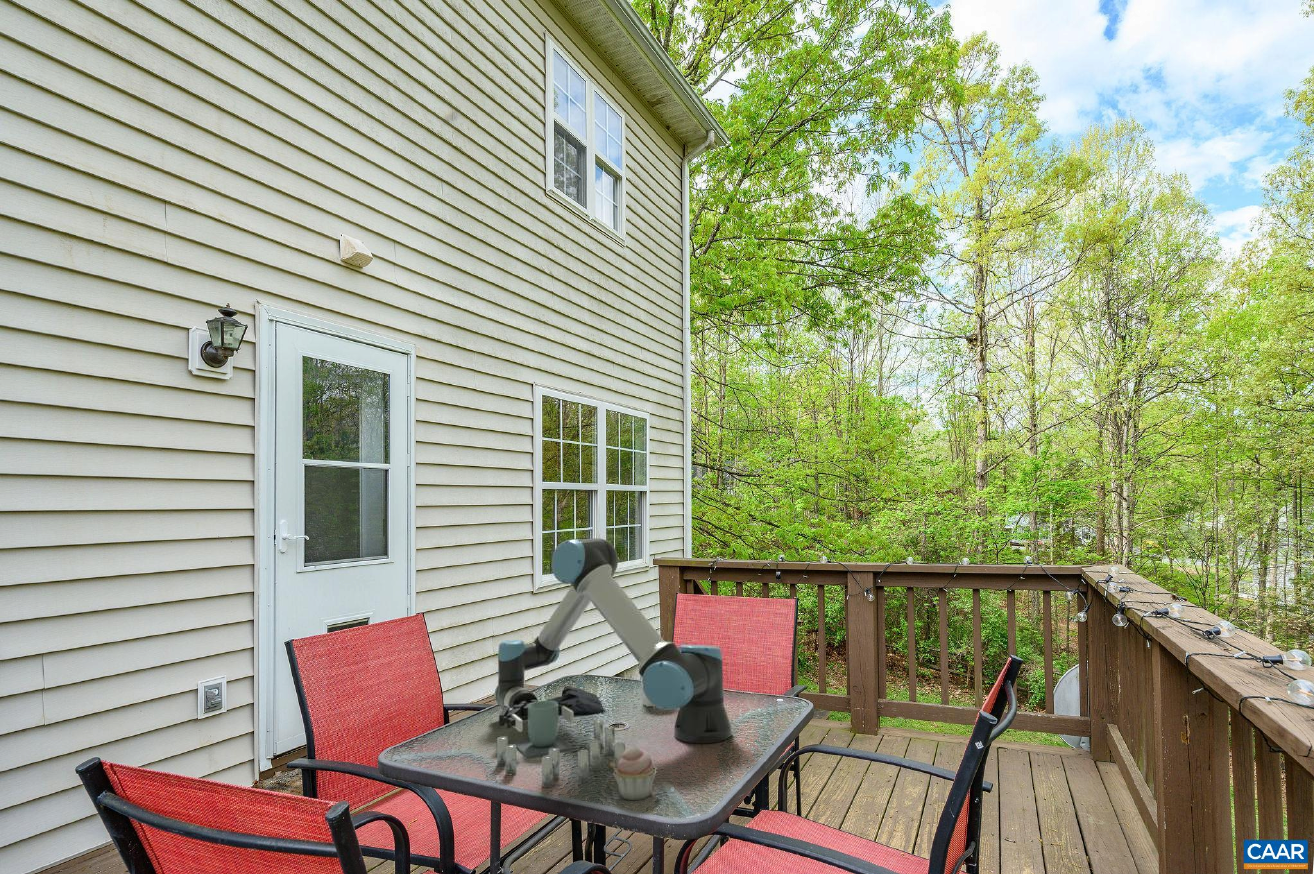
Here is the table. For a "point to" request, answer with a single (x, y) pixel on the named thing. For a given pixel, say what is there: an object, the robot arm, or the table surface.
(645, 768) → the cupcake
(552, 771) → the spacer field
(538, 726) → the cup
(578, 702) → the dark slate chunk
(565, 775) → the table surface
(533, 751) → the slate coaster
